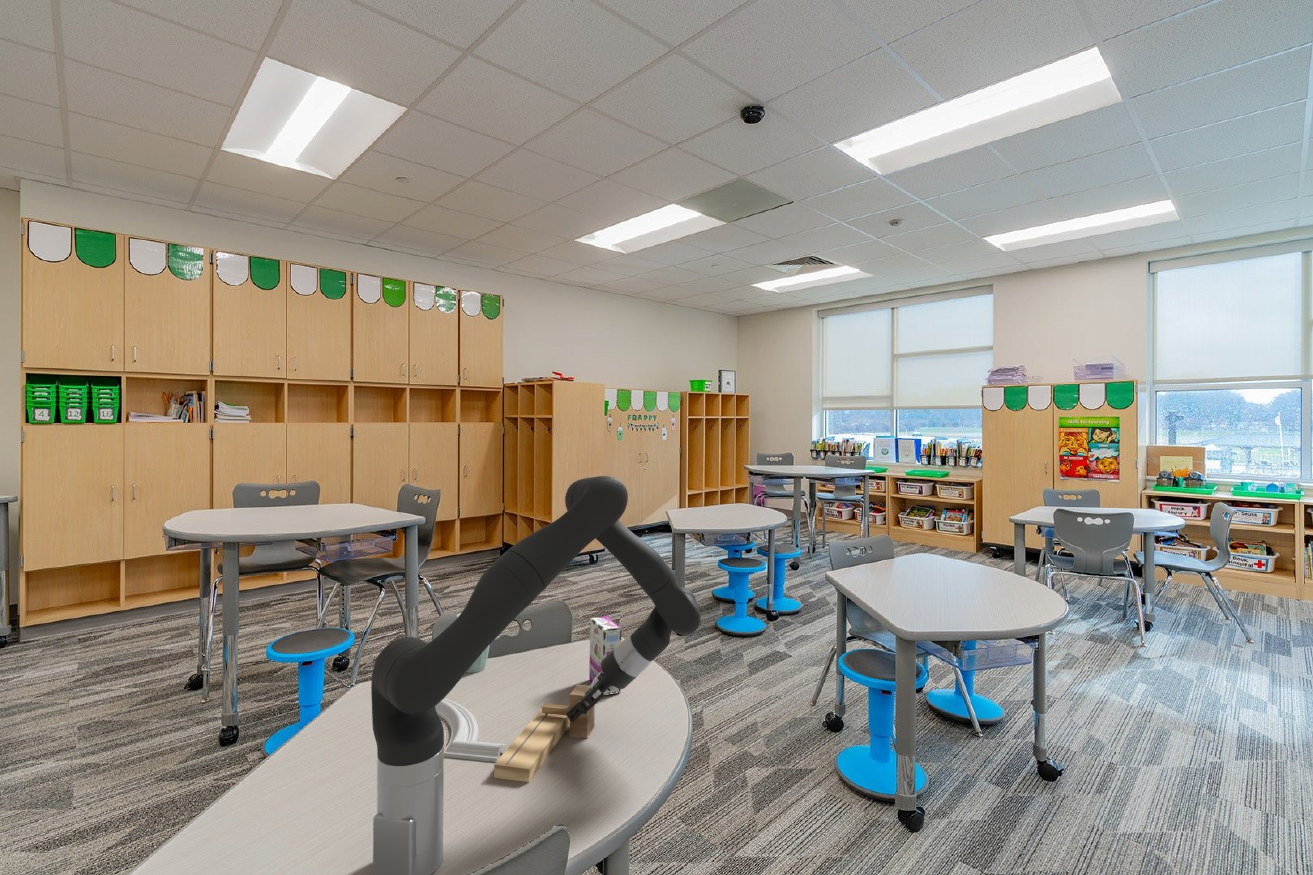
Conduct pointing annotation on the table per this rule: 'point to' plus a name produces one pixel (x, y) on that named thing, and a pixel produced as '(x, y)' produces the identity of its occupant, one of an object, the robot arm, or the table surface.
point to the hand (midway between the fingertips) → (575, 708)
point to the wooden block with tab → (583, 722)
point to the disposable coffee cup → (478, 660)
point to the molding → (466, 734)
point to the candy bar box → (602, 644)
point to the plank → (531, 747)
